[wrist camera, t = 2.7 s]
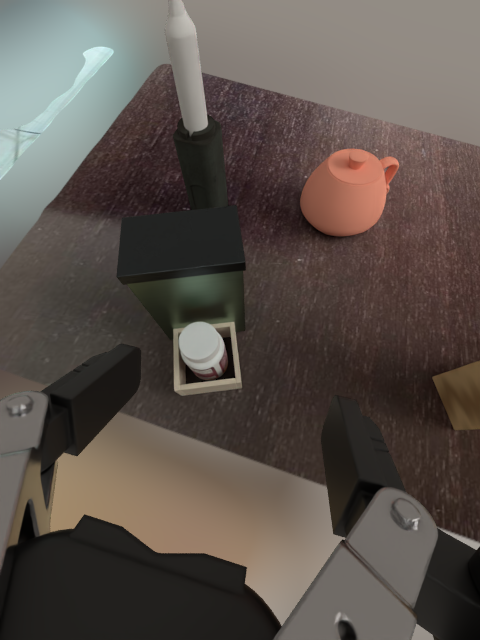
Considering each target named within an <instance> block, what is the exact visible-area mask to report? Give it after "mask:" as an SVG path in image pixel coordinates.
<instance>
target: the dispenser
mask: <svg viewBox="0 0 480 640" xmlns="http://www.w3.org/2000/svg"><path fill="white" fill-rule="evenodd" d="M244 270H246V266H245V256H244V250H243V243H242V237H241V230H240V224H239V217H238V211H237V206H236V205H233V206H224V207H215V208H206V209H197V210H188V211H179V212H170V213H162V214H153V215H144V216H135V217H126V218H122V223H121V234H120V245H119V256H118V267H117V278H118V279H119V281H120V282H121V283H122V284H123V285H125V284H127V285H128V287H129V288H130V289H131V290H132V292H133V293H134V294H135V295H136V297H137V298H138V299H139V301H140V302H141V303H142V304H143V306H144V307H145V308H146V309H147V311H148V312H149V313H150V315H151V316H152V317H153V318H154V320H155V321H156V322H157V324H158V325H159V326H160V327H161V329H162V330H163V331H164V332H165V334H166V335H167V336H168V338H169V339H170V340H173V329H177V328H185V327H186V326H188V325H189V324H191V323H194V322H206V323H208V324H219V323H227V322H234V324H235V332H240V331H245V313H244V283H243V271H244Z"/></svg>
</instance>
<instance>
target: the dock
mask: <svg viewBox="0 0 480 640" xmlns="http://www.w3.org/2000/svg"><path fill="white" fill-rule="evenodd" d="M210 325H212V326H213V327H214V328H215V329H216V331H217V332H218V333H219V334H220V335H221V337H222V338H225V337H231V342H232V351H233V360H234V369H235V378H236V379H235V378H231V379H223V380H215V381H207V382H199V383H191V384H186V369H185V362H184V361H183V359H182V356H181V352H180V348H179V344H178V340H179V336H180V334H181V332H182V330H183V329H184V328H177V329H173V344H174V391H175V392H177V393H178V394H180V395H181V396H184V395H192V394H200V393H208V392H216V391H224V390H232V389H240V388H242V382H241V374H240V366H239V357H238V349H237V341H236V332H235V324H234V322H227V323H219V324H210Z"/></svg>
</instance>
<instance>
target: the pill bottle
mask: <svg viewBox="0 0 480 640" xmlns="http://www.w3.org/2000/svg"><path fill="white" fill-rule="evenodd" d="M178 344H179V348H180V352H181V356H182V359H183V361H184V362H185V363H186V364H187V365H188V367H189V368H190V369H191V370H192V371H193V373H194V374H195V375H196V376H197V377H199V378H200V379H203V380H208V381H210V380H215V379H217V378H219V377H220V376H222V375H223V374H224V373H225V371H226V369H227V366H228V356H227V352H226V348H225V345H224V341H223V339H222V337H221V335H220V334H219V333H218V332H217V331H216V329H215V328H214V327H213V326H212V325H210V324H208V323H206V322H194V323H191V324H189V325H188V326H186V327H185V328H184V329H183V330H182V332H181V334H180V336H179V340H178Z"/></svg>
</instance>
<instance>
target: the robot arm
mask: <svg viewBox="0 0 480 640" xmlns="http://www.w3.org/2000/svg"><path fill="white" fill-rule="evenodd" d="M140 380H141V350H140V348H138V347H134V346H129V345H125V344H119V345H118V346H116V347H115V348H114V349H112V350H111V351H109V352H108V353H107V352H105V353H102V354H99V355H96V356H94V357H92V358H90V359H89V360H87V361H86V362H84V363H83V364H82V365H80V366H78V367H77V368H75V369H74V370H73V371H71V372H69V373H68V374H66V375H65V376H63V377H62V378H60V379H59V380H57V381H56V382H54V383H53V384H51V385H50V386H48V387H47V388H45V389H44V390H42V391H41V392H38V391H24V392H19V393H15V394H12V395H9V396H7V397H5V398H2V399H1V400H0V640H411V639H412V636H413V633H414V629H415V626H416V623H417V624H418V625H420V626H421V627H423V628H424V629H425V630H427V631H428V632H430V633H431V634H432V635H433V637H434V640H480V547H479V548H478V549H477V550H475V549H473V548H471V547H470V546H468V545H466V544H464V543H462V542H461V541H459V540H457V539H455V538H453V537H452V536H450V535H448V534H446V533H444V532H443V531H441V530H440V529H438V528H437V527H436V524H435V522H434V520H433V518H432V517H431V515H430V514H429V512H428V511H427V510H426V509H425V508H424V506H423V505H422V504H420V503H419V502H418V501H417V500H416V499H415V498H413V497H412V496H410V495H409V494H407V493H406V491H405V488H404V486H403V484H402V481H401V479H400V476H399V474H398V472H397V469H396V467H395V465H394V462H393V460H392V458H391V455H390V454H389V453H388V452H389V450H388V448H387V446H386V443H384V439H383V436H382V434H381V432H380V429H379V428H378V427H377V425H376V424H375V423H374V422H373V421H372V420H371V419H370V417H367V416H363V415H362V414H361V411H360V408H359V405H358V403H357V401H356V400H354V399H350V398H346V397H342V396H337V395H335V396H334V397H333V399H332V402H331V405H330V408H329V411H328V414H327V417H326V419H325V422H324V425H323V429H322V436H321V444H322V451H323V459H324V467H325V474H326V482H327V489H328V497H329V504H330V512H331V520H332V527H333V534H335V535H338V536H342V537H345V538H346V539H345V540H342V541H341V542H340V543H339V544H338V546H337V547H336V548H335V550H334V552H333V553H332V554H331V556H330V557H329V559H328V560H327V562H326V563H325V565H324V566H323V567H322V569H321V570H320V572H319V573H318V575H317V576H316V578H315V579H314V581H313V582H312V583H311V585H310V586H309V588H308V589H307V591H306V592H305V594H304V595H303V597H302V598H301V599H300V601H299V602H298V604H297V605H296V607H295V608H294V610H293V611H292V613H291V614H290V616H289V617H288V618H287V620H286V621H285V623H284V624H283V626H281V624H280V622H279V621H278V619H277V618H276V616H275V615H274V613H273V612H272V610H271V609H270V608H269V606H268V605H267V604H266V603H265V602H264V600H263V599H262V598H261V597H260V596H259V595H258V594H257V593H256V592H255V591H254V590H252V589H251V588H250V587H249V586H247V585H246V584H245V577H246V569H247V567H244V566H241V565H238V564H235V563H232V562H229V561H226V560H223V559H220V558H217V557H214V556H211V555H208V554H204V553H203V554H202V553H201V554H199V553H198V554H197V553H196V554H195V553H190V554H189V553H188V554H187V553H185V554H184V553H182V554H181V553H180V554H177V553H168V554H167V553H165V554H164V553H157V552H155V551H153V550H152V549H150V548H149V547H148V546H146V545H145V544H144V543H143V542H141V541H140V540H139V539H137V538H136V537H135V536H134V535H132V534H131V533H129V532H128V531H127V530H126V529H124V528H123V527H122V526H119V525H115V524H112V523H109V522H106V521H103V520H100V519H97V518H94V517H91V516H87V515H84V516H83V517H82V518H81V520H80V521H79V523H78V524H77V525H76V527H75V528H74V529H66V530H58V531H55V532H50V519H51V510H52V503H53V495H54V488H55V481H56V473H57V466H58V463H57V459H58V458H59V457H60V456H61V455H62V454H63V453H68V454H71V455H75V456H78V455H79V454H80V453H81V452H82V451H83V449H84V448H85V447H86V446H87V445H88V444H89V443H90V442H91V441H92V440H93V439H94V437H95V436H96V435H97V434H98V433H99V432H100V431H101V430H102V429H103V428H104V427H105V426H106V425H107V423H108V422H109V421H110V420H111V419H112V418H113V417H114V416H115V415H116V414H117V413H118V412H119V410H120V409H121V408H122V407H123V406H124V405H125V404H126V403H127V402H128V401H129V400H130V399H131V397H132V396H133V395H134V394H135V393H136V391H137V390H138V387H139V385H140Z"/></svg>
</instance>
